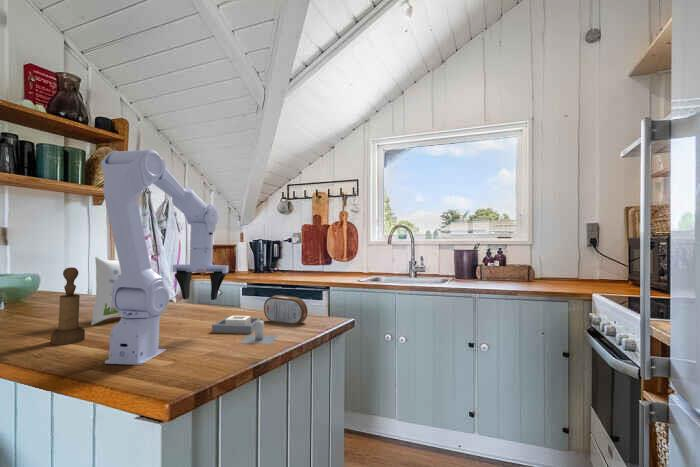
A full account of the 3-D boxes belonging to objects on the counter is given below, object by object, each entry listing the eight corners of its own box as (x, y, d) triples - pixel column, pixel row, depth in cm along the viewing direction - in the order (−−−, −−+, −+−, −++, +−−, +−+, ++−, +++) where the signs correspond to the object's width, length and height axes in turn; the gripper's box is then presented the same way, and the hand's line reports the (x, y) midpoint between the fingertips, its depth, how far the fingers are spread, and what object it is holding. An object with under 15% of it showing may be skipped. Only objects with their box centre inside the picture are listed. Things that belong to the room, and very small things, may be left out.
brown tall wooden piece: (65, 345, 85) (68, 268, 86) (43, 343, 87) (46, 267, 87) (91, 338, 92) (93, 267, 92) (69, 336, 93) (72, 266, 93)
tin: (307, 325, 112) (308, 297, 112) (302, 327, 109) (303, 299, 109) (267, 319, 118) (268, 293, 119) (261, 321, 115) (262, 295, 116)
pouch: (81, 324, 107) (84, 256, 107) (141, 313, 125) (143, 254, 125) (99, 327, 104) (102, 257, 104) (158, 315, 121) (160, 255, 122)
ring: (250, 326, 106) (250, 316, 106) (244, 330, 100) (245, 320, 100) (231, 325, 106) (232, 315, 106) (225, 330, 100) (225, 319, 101)
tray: (250, 335, 98) (251, 326, 98) (211, 334, 98) (212, 324, 98) (261, 326, 108) (261, 317, 108) (226, 325, 109) (226, 317, 109)
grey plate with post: (271, 346, 88) (271, 325, 88) (238, 345, 88) (238, 324, 89) (278, 337, 96) (278, 318, 96) (248, 336, 96) (248, 317, 97)
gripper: (233, 249, 103) (231, 297, 102) (182, 248, 103) (180, 296, 103) (223, 249, 96) (222, 301, 95) (169, 248, 96) (167, 300, 96)
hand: (199, 299), depth 99 cm, fingers open, 7 cm apart
